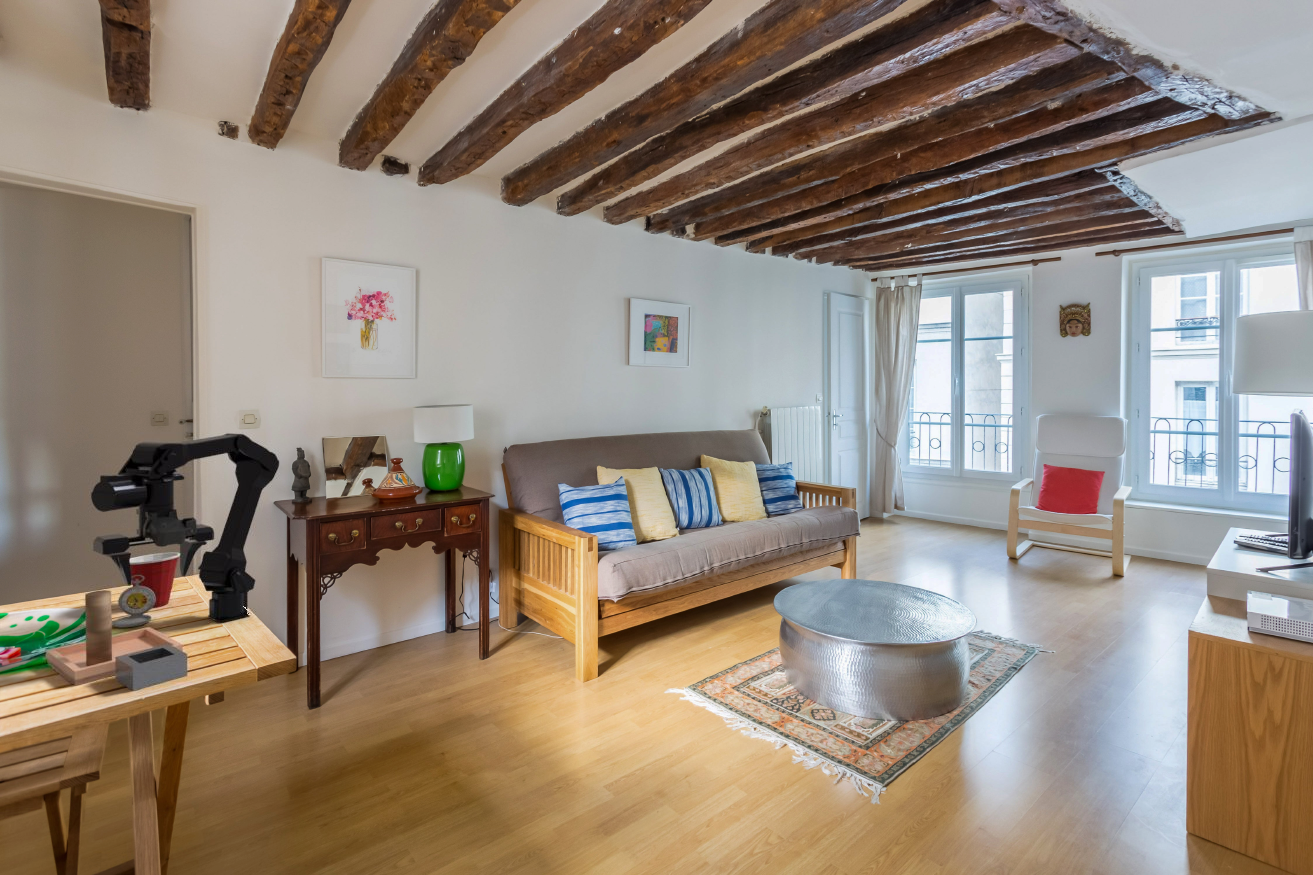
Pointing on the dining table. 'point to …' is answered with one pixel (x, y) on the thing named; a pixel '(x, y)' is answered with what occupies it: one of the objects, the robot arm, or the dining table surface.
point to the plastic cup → (155, 574)
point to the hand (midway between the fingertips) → (156, 580)
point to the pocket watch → (134, 596)
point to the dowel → (98, 627)
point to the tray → (77, 672)
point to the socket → (150, 666)
